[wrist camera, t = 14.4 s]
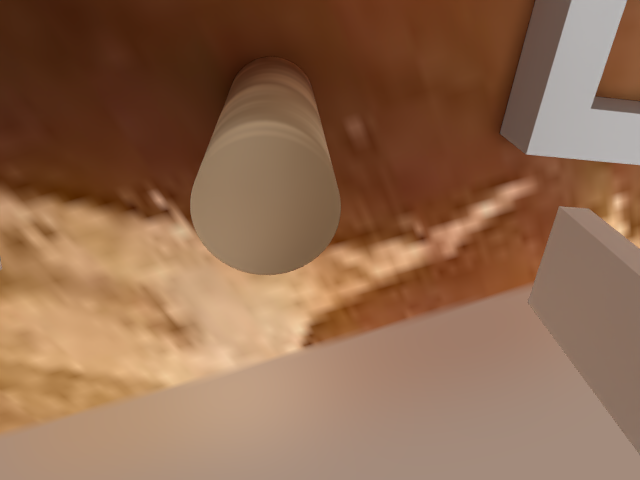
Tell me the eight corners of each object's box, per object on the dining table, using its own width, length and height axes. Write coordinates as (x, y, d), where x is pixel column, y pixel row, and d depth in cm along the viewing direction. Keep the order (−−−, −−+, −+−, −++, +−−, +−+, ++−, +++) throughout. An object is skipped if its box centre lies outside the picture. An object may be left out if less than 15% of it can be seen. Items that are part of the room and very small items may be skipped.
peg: (226, 134, 25) (186, 266, 14) (234, 50, 23) (194, 126, 12) (306, 145, 25) (327, 281, 14) (319, 63, 24) (352, 148, 13)
